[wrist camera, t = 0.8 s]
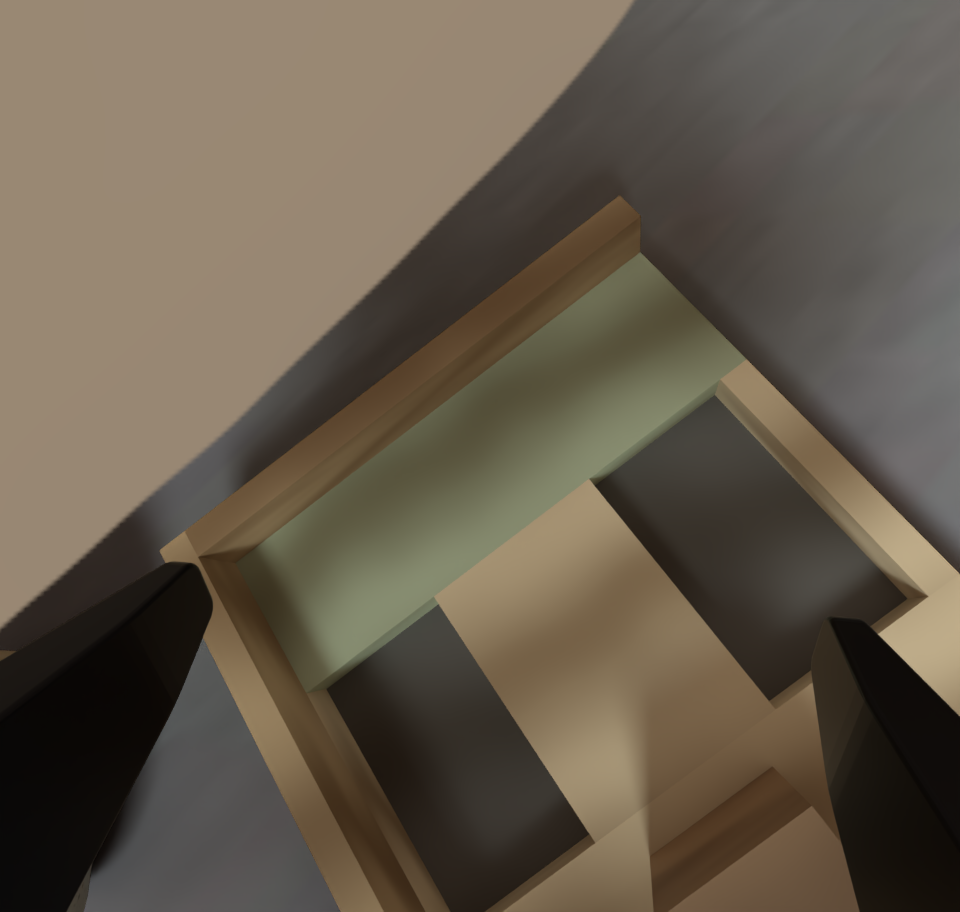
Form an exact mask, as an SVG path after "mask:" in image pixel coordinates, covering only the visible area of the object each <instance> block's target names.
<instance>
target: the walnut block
mask: <svg viewBox="0 0 960 912" xmlns="http://www.w3.org/2000/svg"><path fill="white" fill-rule="evenodd" d="M650 869H651V883H652V897H653V910H654V912H859V908H858V904H857V900H856V897H855V893H854V889H853V885H852V881H851V878H850V874H849V870H848V866H847V862H846V859H845V855H844V851H843V847H842V843H841V842H840V841H839V840H838V838H837V837H836V836H835V834H834V833H833V832H832V831H831V829H830V828H829V827H828V826H827V824H826V823H825V822H824V820H823V819H822V818H821V817H820V815H819V814H818V813H817V812H816V810H815V809H814V808H813V807H812V805H811V804H810V803H809V802H808V801H807V800H806V799H805V798H804V797H803V796H802V795H801V794H800V793H799V792H798V791H797V790H796V789H795V788H794V787H793V786H792V785H791V784H790V783H789V782H788V781H787V780H786V779H785V778H784V777H783V776H782V775H781V774H780V773H779V772H778V771H777V770H776V769H775V768H774V767H773V766H772V767H771V768H769V769H768V770H767V771H765V772H764V773H763V774H761V775H760V776H759V777H757V778H756V779H754V780H753V781H752V782H750V783H749V784H748V785H746V786H745V787H744V788H742V789H741V790H740V791H738V792H737V793H735V794H734V795H733V796H731V797H730V798H729V799H727V800H726V801H725V802H723V803H722V804H721V805H719V806H718V807H716V808H715V809H714V810H712V811H711V812H710V813H708V814H707V815H706V816H704V817H703V818H702V819H700V820H699V821H697V822H696V823H695V824H693V825H692V826H691V827H689V828H688V829H687V830H685V831H684V832H683V833H681V834H680V835H678V836H677V837H676V838H674V839H673V840H672V841H670V842H669V843H668V844H666V845H665V846H664V847H662V848H661V849H659V850H658V851H657V852H655V853H654V854H653V855H651V856H650Z"/></svg>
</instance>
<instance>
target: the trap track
mask: <svg viewBox="0 0 960 912" xmlns="http://www.w3.org/2000/svg"><path fill="white" fill-rule="evenodd" d="M640 235H641V216H640V215H639V214H638V213H637V212H636V211H635V210H634V209H633V208H632V207H631V206H630V205H629V204H628V203H627V202H626V201H625V200H624V199H623V198H622V197H621V196H620V195H619V196H618V197H617V198H615V199H614V200H613V201H612V202H610V203H609V204H608V205H606V206H605V207H604V208H603V209H601V210H600V211H599V212H597V213H596V214H595V215H593V216H592V217H591V218H590V219H588V220H587V221H586V222H584V223H583V224H582V225H580V226H579V227H578V228H577V229H575V230H574V231H573V232H571V233H570V234H569V235H568V236H566V237H565V238H564V239H562V240H561V241H560V242H558V243H557V244H556V245H555V246H553V247H552V248H551V249H549V250H548V251H547V252H546V253H544V254H543V255H542V256H540V257H539V258H538V259H536V260H535V261H534V262H533V263H531V264H530V265H529V266H527V267H526V268H525V269H523V270H522V271H521V272H520V273H518V274H517V275H516V276H514V277H513V278H512V279H511V280H509V281H508V282H507V283H505V284H504V285H503V286H501V287H500V288H499V289H498V290H496V291H495V292H494V293H492V294H491V295H490V296H489V297H487V298H486V299H485V300H483V301H482V302H481V303H479V304H478V305H477V306H476V307H474V308H473V309H472V310H470V311H469V312H468V313H466V314H465V315H464V316H463V317H461V318H460V319H459V320H457V321H456V322H455V323H454V324H452V325H451V326H450V327H448V328H447V329H446V330H444V331H443V332H442V333H441V334H439V335H438V336H437V337H435V338H434V339H433V340H432V341H430V342H429V343H428V344H426V345H425V346H424V347H422V348H421V349H420V350H419V351H417V352H416V353H415V354H413V355H412V356H411V357H409V358H408V359H407V360H406V361H404V362H403V363H402V364H400V365H399V366H398V367H397V368H395V369H394V370H393V371H391V372H390V373H389V374H387V375H386V376H385V377H384V378H382V379H381V380H380V381H378V382H377V383H376V384H374V385H373V386H372V387H371V388H369V389H368V390H367V391H365V392H364V393H363V394H362V395H360V396H359V397H358V398H356V399H355V400H354V401H352V402H351V403H350V404H349V405H347V406H346V407H345V408H343V409H342V410H341V411H340V412H338V413H337V414H336V415H334V416H333V417H332V418H330V419H329V420H328V421H327V422H325V423H324V424H323V425H321V426H320V427H319V428H317V429H316V430H315V431H314V432H312V433H311V434H310V435H308V436H307V437H306V438H305V439H303V440H302V441H301V442H299V443H298V444H297V445H295V446H294V447H293V448H292V449H290V450H289V451H288V452H286V453H285V454H284V455H283V456H281V457H280V458H279V459H277V460H276V461H275V462H273V463H272V464H271V465H270V466H268V467H267V468H266V469H264V470H263V471H262V472H260V473H259V474H258V475H257V476H255V477H254V478H253V479H251V480H250V481H249V482H248V483H246V484H245V485H244V486H242V487H241V488H240V489H238V490H237V491H236V492H235V493H233V494H232V495H231V496H229V497H228V498H227V499H226V500H224V501H223V502H222V503H220V504H219V505H218V506H216V507H215V508H214V509H213V510H211V511H210V512H209V513H207V514H206V515H205V516H203V517H202V518H201V519H200V520H198V521H197V522H196V523H194V524H193V525H192V526H191V527H189V528H188V529H187V530H185V531H184V532H183V533H181V534H180V535H179V536H178V537H176V538H175V539H174V540H172V541H171V542H170V543H168V544H167V545H166V546H165V547H163V548H162V549H161V550H159V551H160V553H161V555H162V557H163V559H164V561H165V563H167V562H172V561H176V562H188V563H194V564H195V565H197V566H198V567H199V569H200V571H201V573H202V575H203V578H204V580H205V582H206V585H207V587H208V589H209V592H210V594H211V596H212V599H213V612H212V616H211V619H210V621H209V624H208V626H207V628H206V631H205V633H204V636H203V638H204V640H205V642H206V644H207V646H208V648H209V650H210V652H211V654H212V656H213V658H214V660H215V662H216V664H217V666H218V668H219V670H220V672H221V674H222V676H223V678H224V680H225V682H226V684H227V686H228V688H229V690H230V692H231V694H232V696H233V698H234V700H235V702H236V704H237V706H238V708H239V710H240V712H241V714H242V716H243V718H244V720H245V722H246V724H247V726H248V728H249V730H250V732H251V734H252V736H253V738H254V740H255V742H256V744H257V746H258V748H259V750H260V752H261V754H262V756H263V758H264V760H265V762H266V764H267V766H268V768H269V770H270V772H271V774H272V776H273V778H274V780H275V782H276V784H277V786H278V788H279V790H280V792H281V794H282V796H283V798H284V800H285V802H286V804H287V806H288V808H289V810H290V812H291V814H292V816H293V818H294V820H295V822H296V824H297V826H298V828H299V830H300V832H301V834H302V836H303V838H304V840H305V842H306V844H307V846H308V848H309V850H310V852H311V854H312V856H313V858H314V860H315V862H316V863H317V865H318V867H319V869H320V871H321V873H322V875H323V877H324V879H325V881H326V883H327V885H328V887H329V889H330V891H331V893H332V895H333V897H334V899H335V901H336V903H337V905H338V907H339V909H340V911H341V912H654V910H653V897H652V883H651V869H650V856H651V855H653V854H654V853H655V852H657V851H658V850H659V849H661V848H662V847H664V846H665V845H666V844H668V843H669V842H670V841H672V840H673V839H674V838H676V837H677V836H678V835H680V834H681V833H683V832H684V831H685V830H687V829H688V828H689V827H691V826H692V825H693V824H695V823H696V822H697V821H699V820H700V819H702V818H703V817H704V816H706V815H707V814H708V813H710V812H711V811H712V810H714V809H715V808H716V807H718V806H719V805H721V804H722V803H723V802H725V801H726V800H727V799H729V798H730V797H731V796H733V795H734V794H735V793H737V792H738V791H740V790H741V789H742V788H744V787H745V786H746V785H748V784H749V783H750V782H752V781H753V780H754V779H756V778H757V777H759V776H760V775H761V774H763V773H764V772H765V771H767V770H768V769H769V768H771V767H772V766H773V767H774V768H775V769H776V770H777V771H778V772H779V773H780V774H781V775H782V776H783V777H784V778H785V779H786V780H787V781H788V782H789V783H790V784H791V785H792V786H793V787H794V788H795V789H796V790H797V791H798V792H799V793H800V794H801V795H802V796H803V797H804V798H805V799H806V800H807V801H808V802H809V803H810V804H811V805H812V807H813V808H814V809H815V810H816V812H817V813H818V814H819V815H820V817H821V818H822V819H823V820H824V822H825V823H826V824H827V826H828V827H829V828H830V829H831V831H832V832H833V833H834V834H835V836H836V837H837V838H838V840H839V841H840V842H841V840H840V836H839V832H838V828H837V824H836V821H835V817H834V813H833V809H832V805H831V800H830V796H829V792H828V786H827V780H826V774H825V767H824V760H823V753H822V746H821V739H820V732H819V725H818V718H817V711H816V704H815V696H814V689H813V682H812V675H811V661H812V656H813V652H814V649H815V646H816V643H817V640H818V636H819V633H820V630H821V627H822V624H823V621H824V620H825V619H826V618H827V617H828V616H841V617H853V618H859V619H862V620H863V621H865V622H866V623H867V624H868V625H869V626H870V627H871V628H872V629H873V630H874V631H875V632H876V633H877V634H878V635H879V636H880V637H881V638H882V639H883V640H884V641H885V642H886V643H887V644H888V645H889V646H890V647H891V648H892V649H893V650H894V651H895V652H896V653H897V654H898V655H899V656H900V657H901V658H902V659H903V660H904V661H905V662H906V663H907V664H908V665H909V666H910V667H911V668H912V669H913V670H914V671H915V672H916V673H917V674H918V675H919V676H920V677H921V678H922V679H923V680H924V681H925V682H926V683H927V684H928V685H929V686H930V687H931V688H932V689H933V690H934V691H935V692H936V693H937V694H938V695H939V696H940V697H941V698H942V699H943V700H944V701H945V702H946V703H947V704H948V705H949V706H950V707H951V708H952V709H953V710H954V711H955V712H956V713H957V714H958V715H959V716H960V574H959V573H958V572H957V571H956V570H955V569H954V568H953V567H952V566H951V565H950V564H949V563H948V562H947V561H946V560H945V559H944V558H943V557H942V556H941V555H940V554H939V553H938V552H937V551H936V550H935V549H934V548H933V547H932V546H931V545H930V544H929V543H928V542H927V541H926V540H925V538H924V537H923V536H922V535H921V534H920V533H919V532H918V531H917V530H916V529H915V528H914V527H913V526H912V525H911V524H910V523H909V522H908V521H907V520H906V519H905V518H904V517H903V516H902V515H901V514H900V513H899V512H898V511H897V510H896V509H895V508H894V507H893V506H892V505H891V504H890V503H889V502H888V501H887V500H886V499H885V498H884V497H883V496H882V495H881V494H880V493H879V492H878V491H877V490H876V489H875V488H874V487H873V486H872V485H871V484H870V483H869V482H868V481H867V480H866V479H865V478H864V477H863V476H862V475H861V474H860V473H859V472H858V471H857V470H856V469H855V468H854V467H853V466H852V465H851V464H850V463H849V462H848V461H847V460H846V459H845V458H844V457H843V456H842V455H841V454H840V453H839V452H838V451H837V450H836V449H835V448H834V447H833V446H832V445H831V444H830V443H829V442H828V441H827V440H826V439H825V438H824V437H823V436H822V435H821V434H820V433H819V432H818V431H817V430H816V429H815V428H814V427H813V426H812V425H811V424H810V423H809V422H808V421H807V420H806V419H805V418H804V417H803V416H802V415H801V414H800V413H799V412H798V411H797V410H796V409H795V408H794V407H793V406H792V405H791V404H790V403H789V402H788V400H787V399H786V398H785V397H784V396H783V395H782V394H781V393H780V392H779V391H778V390H777V389H776V388H775V387H774V386H773V385H772V384H771V383H770V382H769V381H768V380H767V379H766V378H765V377H764V376H763V375H762V374H761V373H760V372H759V371H758V370H757V369H756V368H755V367H754V366H753V365H752V364H751V363H750V362H749V361H748V360H747V359H746V358H745V357H744V356H743V355H742V354H741V353H740V352H739V351H738V350H737V349H736V348H735V347H734V346H733V345H732V344H731V343H730V342H729V341H728V340H727V339H726V338H725V337H724V336H723V335H722V334H721V333H720V332H719V331H718V330H717V329H716V328H715V327H714V326H713V325H712V324H711V323H710V322H709V321H708V320H707V319H706V318H705V317H704V316H703V315H702V314H701V313H700V312H699V311H698V310H697V309H696V308H695V307H694V306H693V305H692V304H691V303H690V302H689V301H688V300H687V299H686V298H685V297H684V296H683V295H682V294H681V293H680V292H679V291H678V290H677V289H676V288H675V287H674V286H673V285H672V284H671V283H670V282H669V281H668V280H667V279H666V278H665V277H664V276H663V275H662V274H661V273H660V272H659V271H658V270H657V269H656V268H655V267H654V266H653V265H652V264H651V263H650V261H649V260H648V259H647V258H646V257H645V256H644V255H643V254H642V253H641V252H640Z"/></svg>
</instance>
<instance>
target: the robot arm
mask: <svg viewBox="0 0 960 912" xmlns="http://www.w3.org/2000/svg"><path fill="white" fill-rule="evenodd" d="M212 612H213V599H212V596H211V594H210V592H209V589H208V587H207V585H206V582H205V580H204V578H203V575H202V573H201V571H200V569H199V567H198V566H197V565H195V564H194V563H188V562H176V561H172V562H167V563H165V564H163V565H162V566H160V567H158V568H157V569H155V570H153V571H151V572H150V573H148V574H146V575H145V576H143V577H141V578H140V579H138V580H136V581H135V582H133V583H131V584H129V585H128V586H126V587H124V588H123V589H121V590H119V591H118V592H116V593H114V594H113V595H111V596H109V597H107V598H106V599H104V600H102V601H101V602H99V603H97V604H96V605H94V606H92V607H90V608H89V609H87V610H85V611H84V612H82V613H80V614H79V615H77V616H75V617H74V618H72V619H70V620H68V621H67V622H65V623H63V624H62V625H60V626H58V627H57V628H55V629H53V630H51V631H50V632H48V633H46V634H45V635H43V636H41V637H40V638H38V639H36V640H35V641H33V642H31V643H29V644H28V645H26V646H24V647H23V648H21V649H19V650H18V651H16V652H14V653H12V654H11V655H9V656H7V657H6V658H4V659H2V660H1V661H0V912H67V910H68V909H69V907H70V905H71V903H72V901H73V899H74V897H75V895H76V893H77V891H78V889H79V888H80V886H81V884H82V882H83V880H84V878H85V876H86V874H87V872H88V870H89V869H90V867H91V865H92V863H93V861H94V859H95V857H96V855H97V853H98V851H99V849H100V848H101V846H102V844H103V842H104V840H105V838H106V836H107V834H108V832H109V830H110V829H111V827H112V825H113V823H114V821H115V819H116V817H117V815H118V813H119V811H120V809H121V808H122V806H123V804H124V802H125V800H126V798H127V796H128V794H129V792H130V790H131V788H132V787H133V785H134V783H135V781H136V779H137V777H138V775H139V773H140V771H141V769H142V768H143V766H144V764H145V762H146V760H147V758H148V756H149V754H150V752H151V750H152V748H153V747H154V745H155V743H156V741H157V739H158V737H159V735H160V733H161V731H162V729H163V728H164V726H165V724H166V722H167V720H168V718H169V716H170V714H171V712H172V710H173V708H174V706H175V704H176V701H177V699H178V697H179V694H180V692H181V690H182V688H183V685H184V683H185V680H186V678H187V675H188V673H189V670H190V668H191V665H192V663H193V660H194V658H195V656H196V653H197V651H198V648H199V646H200V643H201V641H202V638H203V636H204V633H205V631H206V628H207V626H208V624H209V621H210V619H211V616H212ZM811 675H812V682H813V689H814V696H815V704H816V711H817V718H818V725H819V732H820V739H821V746H822V753H823V760H824V767H825V774H826V780H827V786H828V792H829V796H830V800H831V805H832V809H833V813H834V817H835V821H836V824H837V828H838V832H839V836H840V840H841V843H842V847H843V851H844V855H845V859H846V862H847V866H848V870H849V874H850V878H851V881H852V885H853V889H854V893H855V897H856V900H857V904H858V908H859V912H960V716H959V715H958V714H957V713H956V712H955V711H954V710H953V709H952V708H951V707H950V706H949V705H948V704H947V703H946V702H945V701H944V700H943V699H942V698H941V697H940V696H939V695H938V694H937V693H936V692H935V691H934V690H933V689H932V688H931V687H930V686H929V685H928V684H927V683H926V682H925V681H924V680H923V679H922V678H921V677H920V676H919V675H918V674H917V673H916V672H915V671H914V670H913V669H912V668H911V667H910V666H909V665H908V664H907V663H906V662H905V661H904V660H903V659H902V658H901V657H900V656H899V655H898V654H897V653H896V652H895V651H894V650H893V649H892V648H891V647H890V646H889V645H888V644H887V643H886V642H885V641H884V640H883V639H882V638H881V637H880V636H879V635H878V634H877V633H876V632H875V631H874V630H873V629H872V628H871V627H870V626H869V625H868V624H867V623H866V622H865V621H863V620H862V619H859V618H853V617H841V616H828V617H827V618H826V619H825V620H824V621H823V624H822V627H821V630H820V633H819V636H818V640H817V643H816V646H815V649H814V652H813V656H812V661H811Z"/></svg>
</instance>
